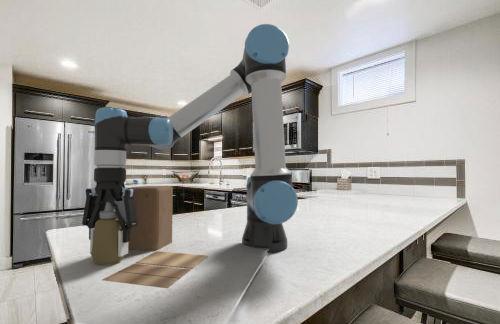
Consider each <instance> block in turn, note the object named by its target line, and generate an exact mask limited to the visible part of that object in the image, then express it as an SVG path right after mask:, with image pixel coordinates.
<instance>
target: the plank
mask: <svg viewBox="0 0 500 324" xmlns="http://www.w3.org/2000/svg"><path fill="white" fill-rule="evenodd" d="M208 256H209V255H206V254H205V255H203V254H192V253H191V254H190V253H182V252H170V251H169V252H168V251H159V250H156V251H153V252H152V253H150V254H149V255H147V256H145V257H143V258H142V259H139V260H138V261H136V262H135V264H142V265H152V266H162V267H172V268H182V269H191V270H193V269H195V267H197V266H199V264H201V263H202V262H203V261H204V260H206V259H207V258H208Z"/></svg>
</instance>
